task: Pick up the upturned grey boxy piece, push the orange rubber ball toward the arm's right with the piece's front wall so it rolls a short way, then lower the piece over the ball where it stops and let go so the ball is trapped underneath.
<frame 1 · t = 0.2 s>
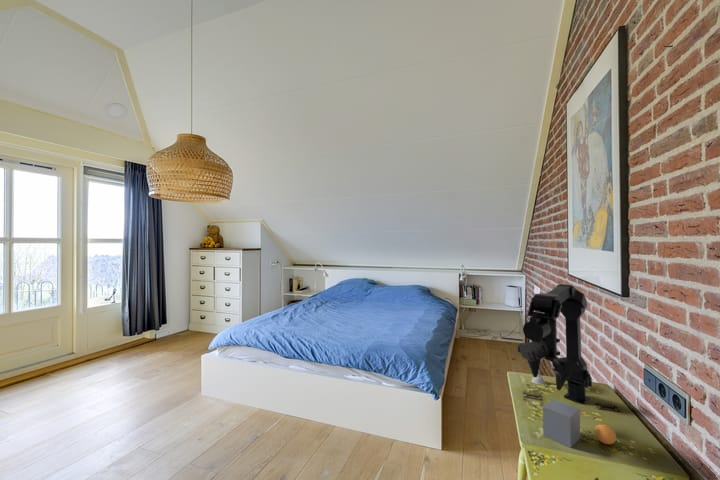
hand: (546, 383, 100), 14 cm above the table, tool pointing down, fingers open, 9 cm apart
chalice: (538, 382, 132), on the table
ball: (605, 434, 92), on the table
grey boxy piece: (561, 436, 95), on the table
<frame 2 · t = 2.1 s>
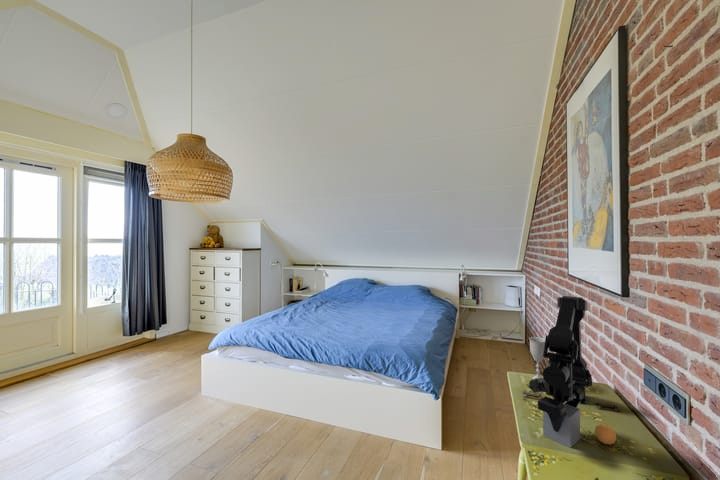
hand: (561, 426, 95), 3 cm above the table, tool pointing down, fingers closed on grey boxy piece, 7 cm apart
grey boxy piece: (561, 436, 95), on the table, touching gripper
everything else where it was.
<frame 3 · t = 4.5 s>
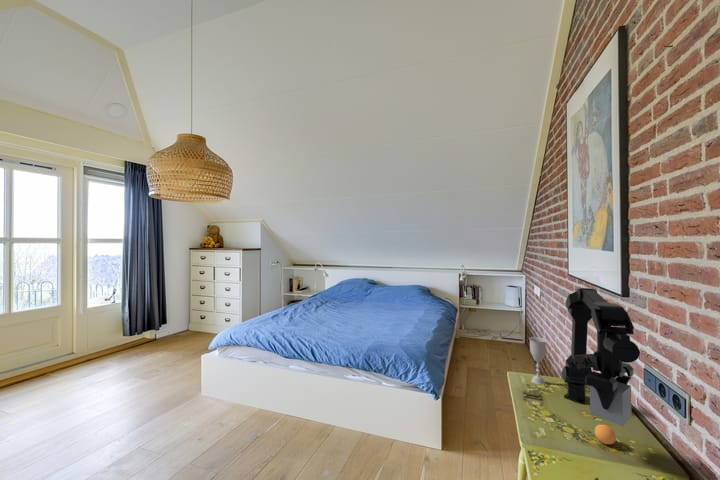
hand: (610, 404, 89), 13 cm above the table, tool pointing down, fingers closed on grey boxy piece, 7 cm apart
grey boxy piece: (610, 415, 88), point 10 cm above the table, touching gripper
everything else where it was.
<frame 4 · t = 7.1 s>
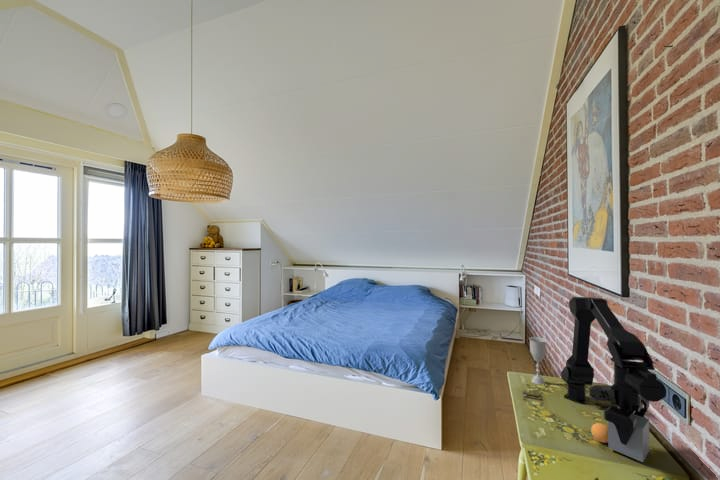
hand: (627, 438, 88), 4 cm above the table, tool pointing down, fingers closed on grey boxy piece, 7 cm apart
grey boxy piece: (628, 449, 88), point 1 cm above the table, touching gripper
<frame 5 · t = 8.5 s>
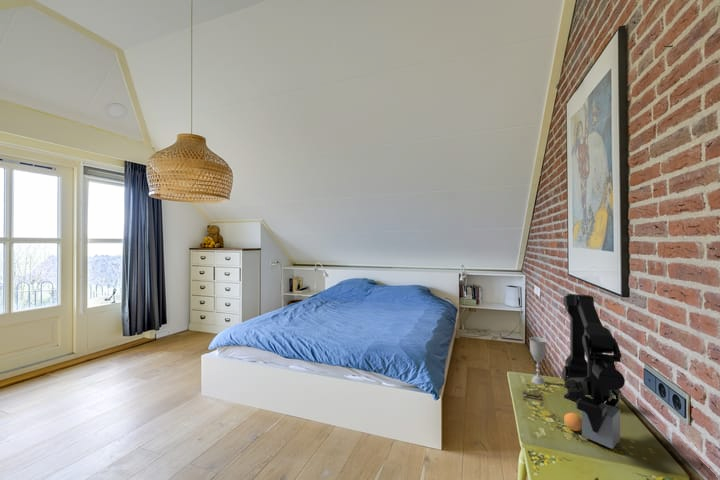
hand: (599, 427, 93), 4 cm above the table, tool pointing down, fingers closed on grey boxy piece, 7 cm apart
ball: (573, 421, 99), on the table
grey boxy piece: (601, 437, 93), point 1 cm above the table, touching gripper
everything else where it was.
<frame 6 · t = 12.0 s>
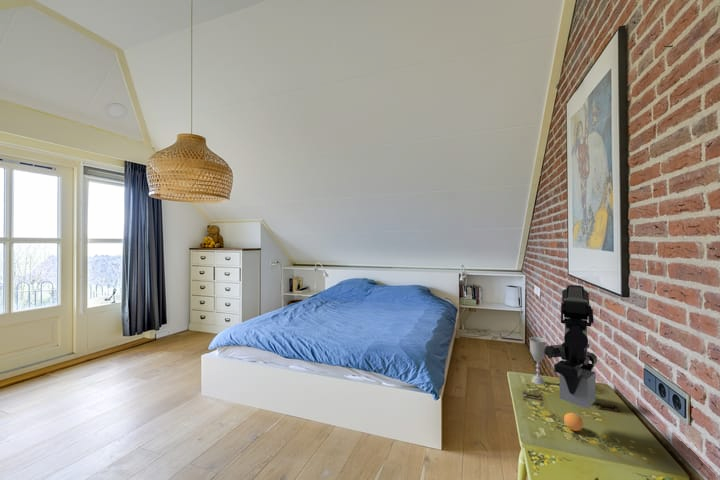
hand: (576, 389, 98), 13 cm above the table, tool pointing down, fingers closed on grey boxy piece, 7 cm apart
grey boxy piece: (577, 399, 98), point 10 cm above the table, touching gripper
everything else where it was.
when the fingers open (3 cm above the table, at t = 16.5 s): grey boxy piece stays where it is, on the table.
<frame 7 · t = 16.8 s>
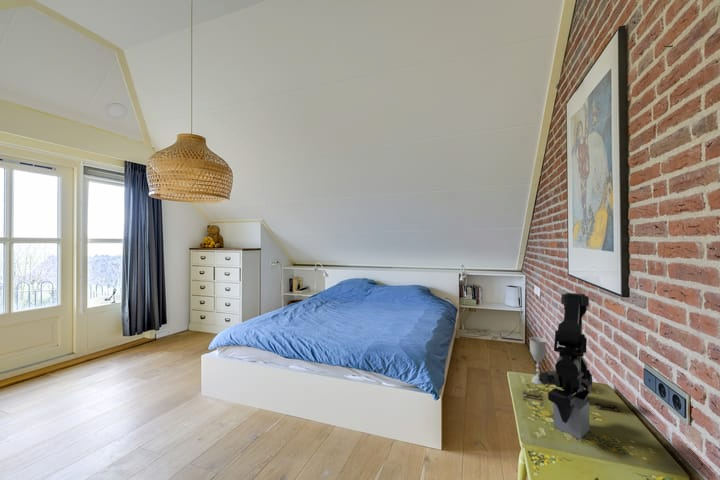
hand: (570, 417, 99), 3 cm above the table, tool pointing down, fingers open, 9 cm apart
grey boxy piece: (571, 428, 99), on the table
everything else where it was.
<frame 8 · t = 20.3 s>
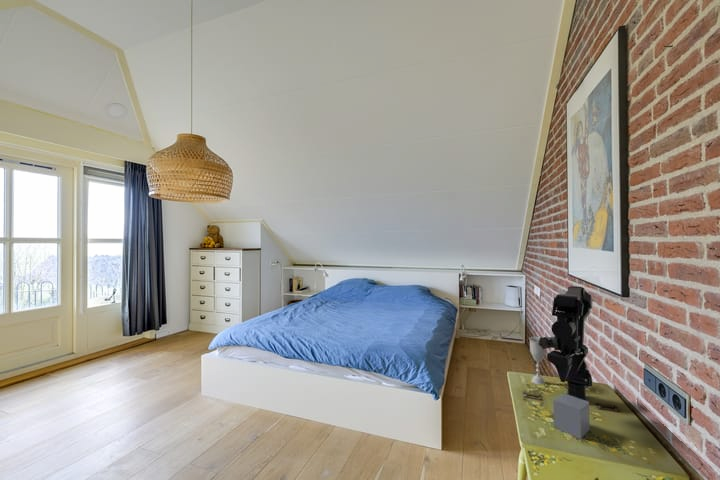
hand: (568, 378, 106), 13 cm above the table, tool pointing down, fingers open, 9 cm apart
nothing on the table moved.
at the end: ball 0.6 cm from the grey boxy piece (horizontally); grey boxy piece on the table; ball moved 8.1 cm from its start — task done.
